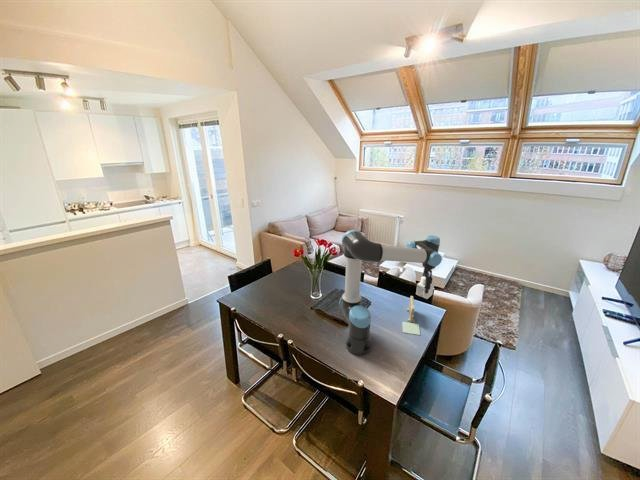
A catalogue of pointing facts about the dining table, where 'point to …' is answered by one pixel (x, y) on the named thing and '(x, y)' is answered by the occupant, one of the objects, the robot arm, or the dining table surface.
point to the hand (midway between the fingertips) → (424, 292)
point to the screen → (411, 310)
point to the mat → (411, 328)
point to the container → (421, 287)
